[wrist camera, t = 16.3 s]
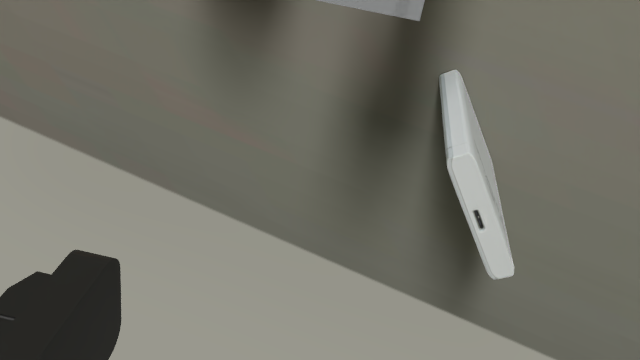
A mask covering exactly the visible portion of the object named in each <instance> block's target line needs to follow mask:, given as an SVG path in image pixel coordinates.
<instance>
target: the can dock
mask: <svg viewBox="0 0 640 360" xmlns="http://www.w3.org/2000/svg"><path fill="white" fill-rule="evenodd" d="M317 1H322V2H327V3H332V4H337V5H342V6H347V7H352V8H357V9H362V10H367V11H372V12H376V13H381V14H386V15H391V16H396V17H401V18H406V19H411V20H416V21H420V17H421V13H422V9H423V5H424V1H425V0H317Z"/></svg>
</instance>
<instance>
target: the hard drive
mask: <svg viewBox="0 0 640 360" xmlns="http://www.w3.org/2000/svg"><path fill="white" fill-rule="evenodd" d="M439 87H440V97H441V107H442V120H443V129H444V141H445V152H446V161H447V169H448V172H449V175H450V177H451V180H452V183H453V186H454V188H455V191H456V194H457V196H458V199H459V202H460V204H461V207H462V209H463V212H464V215H465V217H466V220H467V222H468V225H469V227H470V230H471V233H472V235H473V238H474V240H475V243H476V245H477V248H478V251H479V253H480V256H481V259H482V261H483V264H484V266H485V269H486V271H487V273H488V275H489V276H490V277H491V278H492V279H501V278H505V277H509V276H513V274H514V265H513V260H512V256H511V251H510V246H509V241H508V236H507V231H506V227H505V222H504V217H503V213H502V207H501V202H500V198H499V193H498V188H497V183H496V178H495V173H494V169H493V164H492V160H491V157H490V154H489V151H488V149H487V146H486V143H485V140H484V137H483V134H482V132H481V129H480V126H479V123H478V121H477V118H476V115H475V112H474V109H473V107H472V104H471V101H470V98H469V95H468V93H467V90H466V87H465V84H464V81H463V79H462V76H461V74H460V73H459V72H458V71H457V70H452V71H449V72H447V73H443V74H441V75H440V76H439Z"/></svg>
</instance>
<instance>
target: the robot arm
mask: <svg viewBox="0 0 640 360" xmlns="http://www.w3.org/2000/svg"><path fill="white" fill-rule="evenodd" d="M120 284H121V283H120V264H119V261H118V260H117V259H115V258H111V257H106V256H102V255H98V254H93V253H89V252H84V251H80V250H74V251H72V252H71V253H70V254H69V255H68V256H67V257H66V258H65V259H64V260H63V262H62V263H61V264H60V265H59V266H58V268H57V269H56V270H55V271H54V272H53V274H52V275H50V274H46V273H42V272H35V273H34V274H32V275H30V276H29V277H27V278H25V279H23V280H22V281H20V282H18V283H16V284H15V285H13V286H11V287H9V288H8V289H7V290H6V291H5V292H4V293H3V295H2V296H1V297H0V360H108V359H109V357H110V355H111V354H112V351H113V350H114V347H115V345H116V342H117V339H118V336H119V331H120V325H121V285H120Z"/></svg>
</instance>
